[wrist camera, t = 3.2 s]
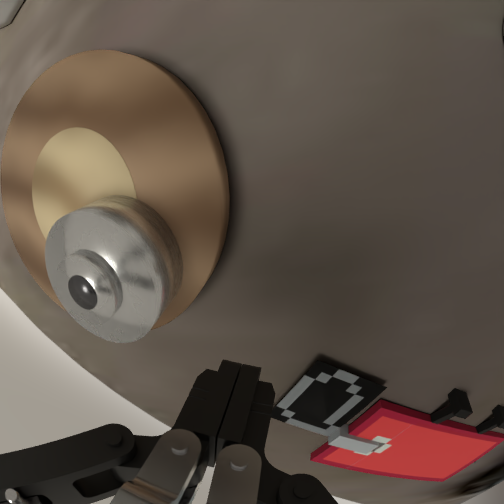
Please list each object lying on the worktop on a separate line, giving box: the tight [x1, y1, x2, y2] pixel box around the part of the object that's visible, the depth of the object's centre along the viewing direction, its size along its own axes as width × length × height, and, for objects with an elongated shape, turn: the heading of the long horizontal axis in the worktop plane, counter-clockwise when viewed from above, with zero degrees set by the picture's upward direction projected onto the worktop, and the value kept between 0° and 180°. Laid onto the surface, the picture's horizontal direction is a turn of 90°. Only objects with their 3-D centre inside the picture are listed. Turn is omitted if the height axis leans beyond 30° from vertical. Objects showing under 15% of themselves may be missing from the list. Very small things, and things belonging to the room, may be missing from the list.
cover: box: [45, 195, 183, 343], centre depth 16 cm, size 8×8×5 cm
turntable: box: [1, 50, 230, 330], centre depth 19 cm, size 20×20×3 cm
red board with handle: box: [271, 360, 504, 482], centre depth 23 cm, size 30×3×15 cm
